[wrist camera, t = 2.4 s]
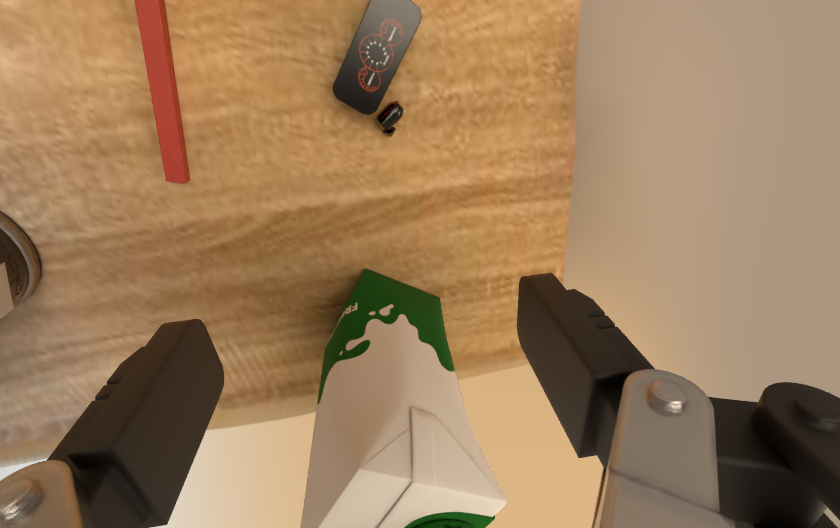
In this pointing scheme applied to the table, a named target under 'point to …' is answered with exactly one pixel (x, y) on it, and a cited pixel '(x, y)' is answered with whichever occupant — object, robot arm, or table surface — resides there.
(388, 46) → the black gauge box
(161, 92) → the spoon
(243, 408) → the table surface
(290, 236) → the table surface
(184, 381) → the robot arm
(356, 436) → the milk carton
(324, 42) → the table surface
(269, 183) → the table surface
